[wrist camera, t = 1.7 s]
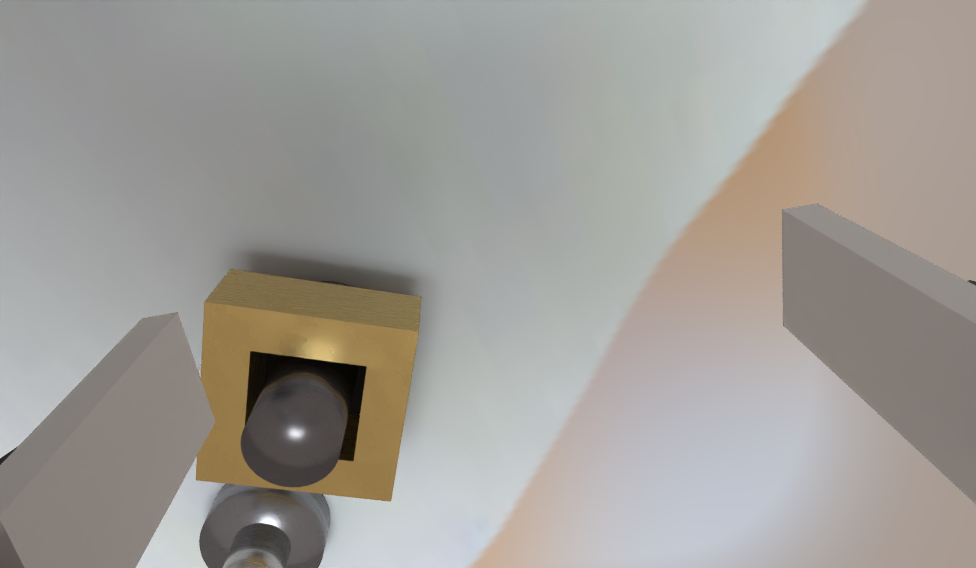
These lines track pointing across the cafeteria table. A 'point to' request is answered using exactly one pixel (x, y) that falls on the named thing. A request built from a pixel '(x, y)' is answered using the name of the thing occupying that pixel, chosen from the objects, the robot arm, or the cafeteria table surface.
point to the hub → (265, 528)
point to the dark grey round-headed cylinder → (301, 418)
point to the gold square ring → (313, 335)
